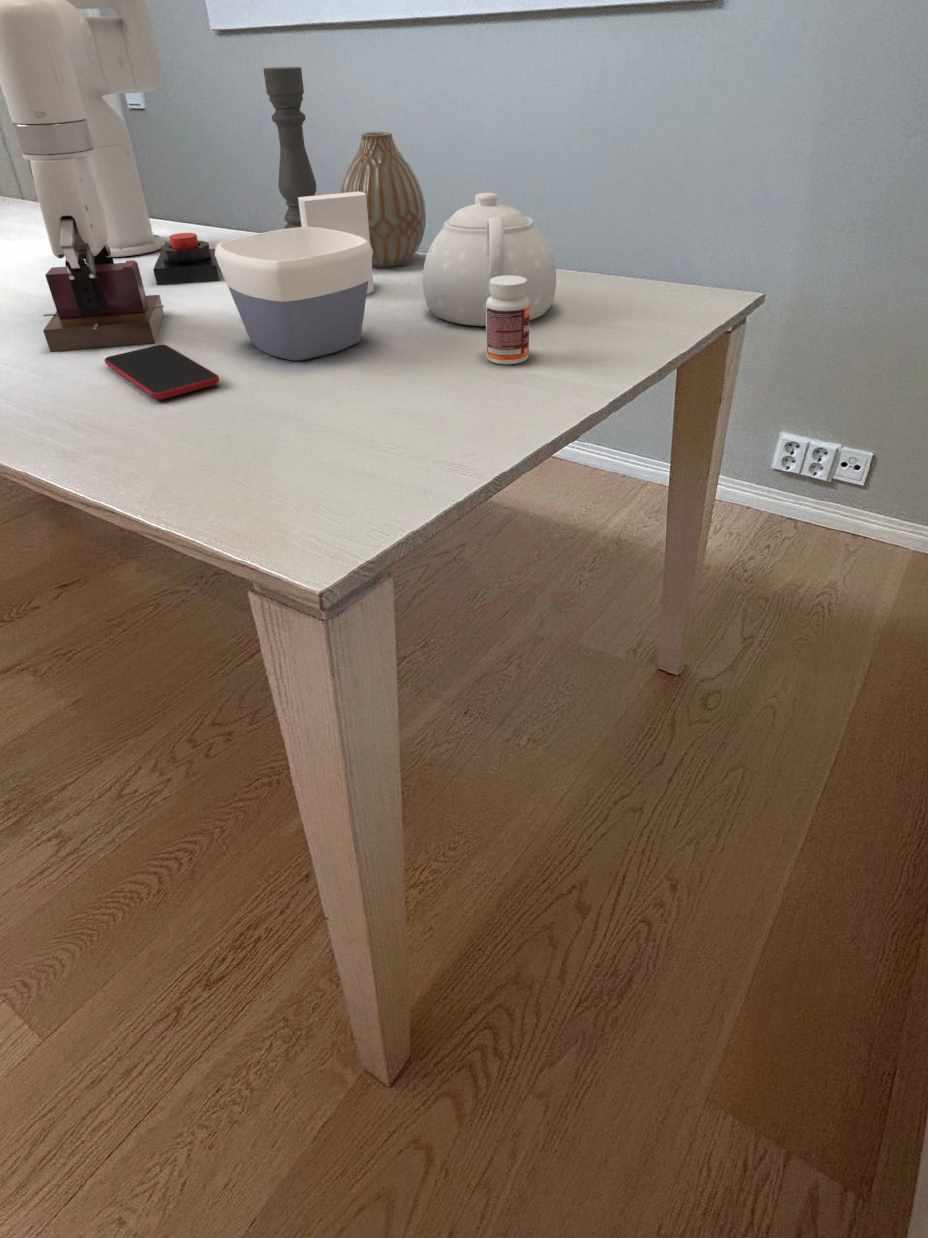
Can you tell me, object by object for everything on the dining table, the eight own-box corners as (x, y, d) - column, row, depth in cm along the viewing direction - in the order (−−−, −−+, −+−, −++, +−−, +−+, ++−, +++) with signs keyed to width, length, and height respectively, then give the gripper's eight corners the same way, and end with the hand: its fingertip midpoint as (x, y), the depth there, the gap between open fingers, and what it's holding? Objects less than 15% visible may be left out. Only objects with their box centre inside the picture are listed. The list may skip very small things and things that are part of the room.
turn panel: (62, 319, 104) (55, 298, 103) (173, 310, 107) (168, 290, 105) (38, 355, 93) (30, 332, 92) (163, 345, 95) (157, 322, 94)
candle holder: (320, 251, 132) (299, 68, 117) (283, 252, 132) (257, 69, 117) (326, 243, 137) (306, 66, 121) (290, 243, 137) (266, 67, 122)
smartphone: (164, 343, 93) (221, 376, 84) (166, 350, 93) (223, 385, 84) (101, 357, 89) (154, 394, 80) (103, 365, 90) (156, 403, 80)
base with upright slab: (320, 302, 108) (308, 204, 101) (303, 286, 115) (290, 193, 108) (382, 293, 111) (375, 198, 104) (362, 278, 118) (354, 187, 110)
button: (173, 245, 121) (170, 233, 120) (199, 244, 122) (197, 231, 121) (170, 251, 118) (167, 239, 117) (198, 250, 119) (195, 237, 118)
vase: (359, 251, 131) (347, 127, 121) (436, 253, 129) (431, 127, 118) (332, 271, 121) (317, 138, 110) (416, 274, 119) (408, 139, 108)
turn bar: (58, 318, 96) (44, 272, 93) (64, 309, 99) (50, 265, 96) (144, 311, 98) (132, 266, 95) (147, 303, 100) (136, 259, 97)
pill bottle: (532, 363, 88) (535, 284, 83) (490, 366, 87) (490, 286, 82) (523, 349, 92) (525, 272, 87) (482, 352, 91) (482, 275, 86)
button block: (164, 266, 126) (157, 239, 123) (222, 262, 127) (217, 235, 125) (156, 284, 117) (149, 255, 115) (219, 280, 119) (213, 251, 116)
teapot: (388, 313, 104) (379, 196, 95) (482, 283, 114) (482, 176, 106) (496, 343, 93) (497, 215, 85) (589, 307, 104) (597, 190, 96)
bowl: (320, 315, 103) (308, 221, 97) (397, 341, 95) (389, 240, 88) (215, 344, 95) (194, 244, 88) (289, 376, 86) (272, 267, 79)
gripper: (37, 133, 94) (82, 285, 104) (-2, 152, 80) (55, 326, 90) (104, 130, 95) (142, 281, 105) (76, 149, 81) (123, 320, 92)
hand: (101, 302), depth 98 cm, fingers open, 9 cm apart
